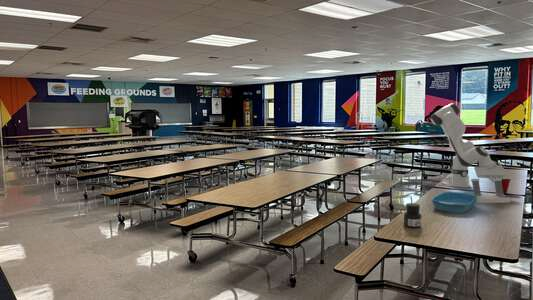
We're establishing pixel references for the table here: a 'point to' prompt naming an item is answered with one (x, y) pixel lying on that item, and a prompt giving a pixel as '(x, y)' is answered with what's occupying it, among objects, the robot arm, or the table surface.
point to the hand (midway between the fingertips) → (494, 181)
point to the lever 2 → (498, 186)
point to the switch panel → (492, 199)
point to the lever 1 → (476, 187)
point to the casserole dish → (454, 202)
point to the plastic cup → (505, 184)
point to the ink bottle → (412, 216)
